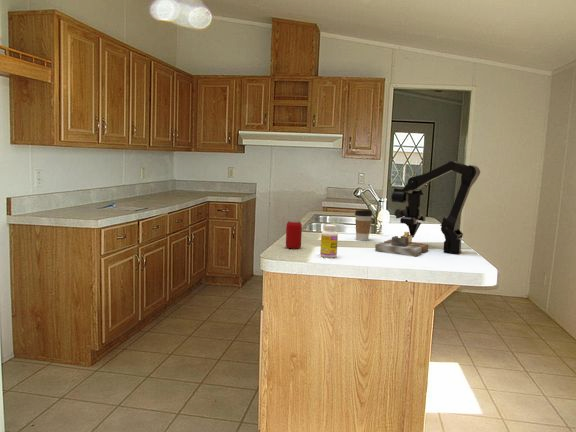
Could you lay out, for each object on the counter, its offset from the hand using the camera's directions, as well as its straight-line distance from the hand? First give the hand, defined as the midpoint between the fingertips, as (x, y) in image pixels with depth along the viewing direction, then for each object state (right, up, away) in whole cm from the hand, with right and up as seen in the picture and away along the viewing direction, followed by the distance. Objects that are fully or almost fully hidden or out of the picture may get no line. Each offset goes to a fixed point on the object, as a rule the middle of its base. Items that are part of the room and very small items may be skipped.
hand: (412, 237), depth 228 cm
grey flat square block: (-7, -6, -11) cm, 14 cm away
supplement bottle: (-41, -7, -29) cm, 51 cm away
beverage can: (-55, -4, -12) cm, 57 cm away
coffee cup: (-21, -2, +16) cm, 27 cm away
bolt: (-4, -2, -7) cm, 8 cm away
